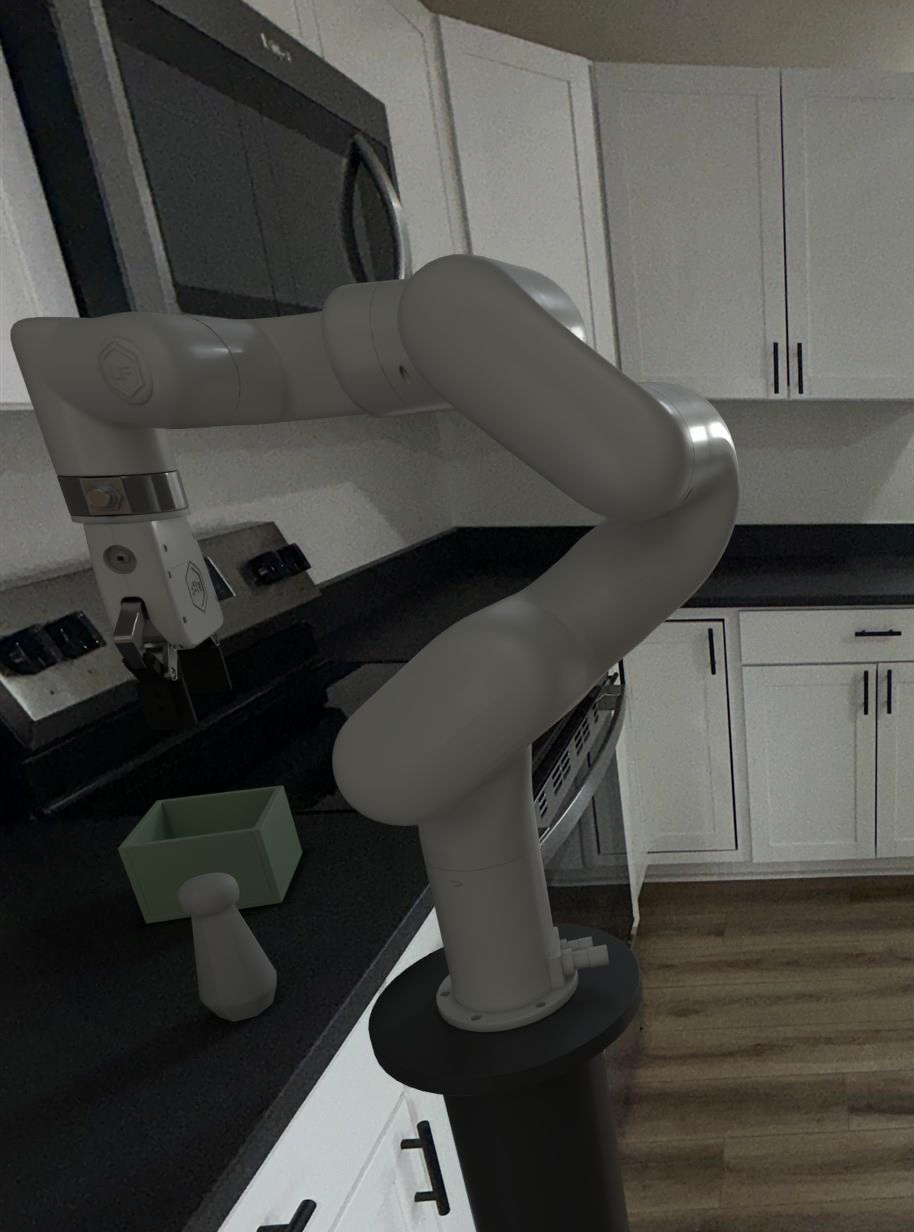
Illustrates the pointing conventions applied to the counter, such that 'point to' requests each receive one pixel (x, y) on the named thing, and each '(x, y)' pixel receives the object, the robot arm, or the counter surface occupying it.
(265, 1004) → the salt shaker
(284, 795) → the bin
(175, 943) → the counter surface
